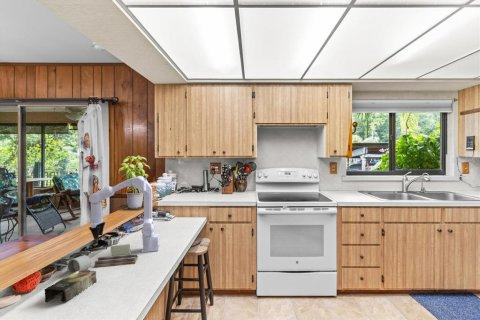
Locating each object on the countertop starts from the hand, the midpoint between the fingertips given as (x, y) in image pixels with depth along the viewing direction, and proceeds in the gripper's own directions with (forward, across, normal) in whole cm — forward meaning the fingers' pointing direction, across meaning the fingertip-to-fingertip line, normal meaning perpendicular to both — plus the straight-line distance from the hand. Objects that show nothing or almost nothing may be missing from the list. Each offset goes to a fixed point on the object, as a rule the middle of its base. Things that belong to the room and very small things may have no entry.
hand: (98, 237), depth 171 cm
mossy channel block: (+11, +46, +3) cm, 47 cm away
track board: (+10, +16, +14) cm, 23 cm away
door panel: (+10, +5, +13) cm, 17 cm away
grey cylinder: (+10, +24, -3) cm, 26 cm away
